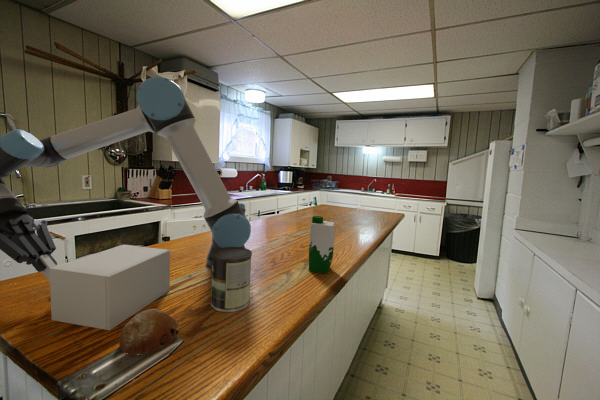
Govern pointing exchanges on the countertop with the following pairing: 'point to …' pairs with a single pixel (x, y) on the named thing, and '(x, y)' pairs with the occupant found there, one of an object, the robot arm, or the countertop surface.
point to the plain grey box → (108, 285)
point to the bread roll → (148, 332)
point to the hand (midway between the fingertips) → (56, 278)
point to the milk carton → (321, 245)
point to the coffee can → (230, 278)
